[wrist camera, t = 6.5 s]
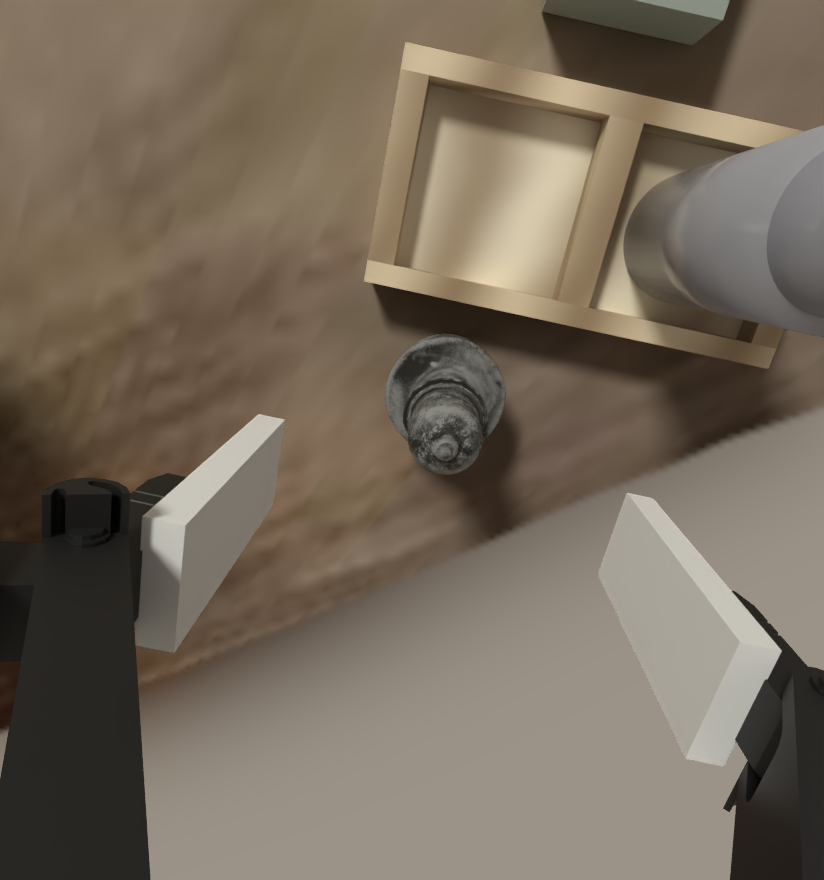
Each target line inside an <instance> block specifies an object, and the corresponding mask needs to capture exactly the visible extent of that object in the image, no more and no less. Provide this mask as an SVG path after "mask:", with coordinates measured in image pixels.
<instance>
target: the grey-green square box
mask: <svg viewBox="0 0 824 880" xmlns="http://www.w3.org/2000/svg"><path fill="white" fill-rule="evenodd" d="M729 1H730V0H544V4H543V8H542V12H545V13H550V14H554V15H559V16H563V17H568V18H572V19H576V20H581V21H585V22H590V23H594V24H599V25H603V26H607V27H612V28H616V29H621V30H625V31H630V32H634V33H639V34H643V35H647V36H652V37H656V38H661V39H665V40H670V41H674V42H679V43H683V44H687V45H692V46H693V45H694V44H695V43H696V42H698V41H699V40H700V39H701V38H702V37H704V36H705V35H706V34H707V33H708V32H710V31H711V30H712V29H713V28H714V27H716V26H717V25H718V24H719V23H721V22H722V21H723V19H724V16H725V13H726V10H727V7H728V4H729Z"/></svg>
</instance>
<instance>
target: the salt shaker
mask: <svg viewBox="0 0 824 880" xmlns="http://www.w3.org/2000/svg"><path fill="white" fill-rule="evenodd" d="M505 396H506V391H505V386H504V380H503V377H502V374H501V372H500V370H499V368H498V366H497V364H496V363H495V361H494V360H493V359H492V358H491V357H490V356H489V355H488V353H487V352H486V351H484V350H483V349H481V348H480V347H479V346H478V345H477V344H475V343H474V342H472V341H471V340H469V339H468V338H466V337H463V336H460V335H456V334H447V333H440V334H436V335H431V336H428V337H426V338H424V339H422V340H420V341H418V342H417V343H416V344H414V345H413V346H412V347H411V348H410V349H408V350H407V351H406V352H405V353H404V354H403V355H402V356H401V357H400V358H399V359H398V361H397V362H396V364H395V365H394V367H393V368H392V370H391V372H390V375H389V378H388V381H387V385H386V401H385V402H386V406H387V410H388V414H389V417H390V419H391V421H392V423H393V425H394V426H395V428H396V430H397V431H398V432H399V433H400V434H401V435H402V436H403V437H404V438H405V439H406V440H407V441H408V444H409V448H410V451H411V453H412V455H413V456H414V458H415V460H416V461H417V462H418V463H419V464H420V465H421V466H422V467H423V468H425V469H427V470H428V471H430V472H433V473H437V474H444V475H450V474H455V473H459V472H461V471H463V470H465V469H467V468H468V467H469V466H471V465H472V464H473V463H474V462H475V460H476V459H477V458H478V456H479V454H480V452H481V449H482V446H483V440H484V439H486V438H487V437H488V436H489V435H490V434H491V433H492V431H493V430H494V429H495V427H496V426H497V424H498V423H499V421H500V418H501V416H502V413H503V410H504V406H505Z"/></svg>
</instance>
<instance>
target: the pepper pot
mask: <svg viewBox="0 0 824 880" xmlns="http://www.w3.org/2000/svg"><path fill="white" fill-rule="evenodd" d="M623 253H624V260H625V263H626V267H627V270H628V272H629V274H630V276H631V278H632V279H633V281H634V282H635V283H636V284H637V286H638V287H639V288H640V289H641V290H642V291H644V292H645V293H646V294H648V295H649V296H651V297H653V298H655V299H657V300H660V301H664V302H668V303H672V304H677V305H681V306H685V307H690V308H694V309H699V310H703V311H707V312H712V313H716V314H721V315H725V316H729V317H734V318H738V319H743V320H747V321H751V322H756V323H760V324H765V325H769V326H774V327H778V328H782V329H787V330H791V331H796V332H800V333H804V334H809V335H813V336H820V337H824V125H823V126H820V127H817V128H814V129H811V130H808V131H805V132H802V133H799V134H796V135H793V136H790V137H787V138H784V139H781V140H778V141H775V142H772V143H769V144H766V145H763V146H760V147H757V148H754V149H751V150H748V151H745V152H742V153H739V154H736V155H733V156H730V157H727V158H724V159H721V160H718V161H715V162H712V163H709V164H706V165H703V166H700V167H697V168H694V169H691V170H688V171H685V172H682V173H679V174H676V175H673V176H671V177H669V178H666V179H665V180H663V181H661V182H659V183H658V184H657V185H655V186H654V187H653V188H651V189H650V190H649V191H648V192H647V193H646V194H645V195H644V196H643V197H642V199H641V200H640V201H639V202H638V204H637V205H636V207H635V208H634V210H633V212H632V214H631V216H630V218H629V220H628V223H627V226H626V229H625V234H624V241H623Z"/></svg>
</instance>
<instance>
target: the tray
mask: <svg viewBox="0 0 824 880" xmlns="http://www.w3.org/2000/svg"><path fill="white" fill-rule="evenodd" d="M802 132H805V131H801V130H796V129H792V128H787V127H783V126H778V125H774V124H769V123H765V122H760V121H756V120H751V119H747V118H743V117H738V116H734V115H729V114H725V113H720V112H716V111H711V110H707V109H702V108H698V107H693V106H689V105H684V104H680V103H676V102H671V101H667V100H662V99H658V98H653V97H649V96H644V95H640V94H635V93H631V92H626V91H622V90H617V89H613V88H608V87H604V86H600V85H595V84H591V83H586V82H582V81H577V80H573V79H568V78H564V77H559V76H555V75H550V74H546V73H541V72H537V71H532V70H528V69H524V68H519V67H515V66H510V65H506V64H501V63H497V62H492V61H488V60H483V59H479V58H474V57H470V56H465V55H461V54H456V53H452V52H448V51H443V50H439V49H434V48H430V47H425V46H421V45H416V44H412V43H407V42H405V47H404V53H403V59H402V65H401V71H400V76H399V82H398V88H397V94H396V99H395V105H394V111H393V117H392V122H391V128H390V134H389V140H388V145H387V151H386V157H385V163H384V168H383V174H382V180H381V186H380V191H379V197H378V203H377V209H376V215H375V220H374V226H373V232H372V238H371V243H370V249H369V255H368V261H367V266H366V272H365V278H364V281H365V282H370V283H375V284H379V285H384V286H388V287H393V288H398V289H402V290H407V291H411V292H416V293H421V294H425V295H430V296H434V297H439V298H444V299H448V300H453V301H457V302H462V303H467V304H471V305H476V306H480V307H485V308H490V309H494V310H499V311H503V312H508V313H513V314H517V315H522V316H526V317H531V318H536V319H540V320H545V321H549V322H554V323H559V324H563V325H568V326H572V327H577V328H582V329H586V330H591V331H595V332H600V333H605V334H609V335H614V336H618V337H623V338H628V339H632V340H637V341H641V342H646V343H651V344H655V345H660V346H664V347H669V348H674V349H678V350H683V351H687V352H692V353H697V354H701V355H706V356H710V357H715V358H720V359H724V360H729V361H733V362H738V363H743V364H747V365H752V366H756V367H761V368H766V369H768V368H769V366H770V364H771V361H772V359H773V356H774V354H775V351H776V349H777V347H778V344H779V342H780V339H781V337H782V334H783V332H784V330H785V329H782V328H778V327H774V326H769V325H765V324H760V323H756V322H751V321H747V320H743V319H738V318H734V317H729V316H725V315H721V314H716V313H712V312H707V311H703V310H699V309H694V308H690V307H685V306H681V305H677V304H672V303H668V302H664V301H660V300H657V299H655V298H653V297H651V296H649V295H648V294H646V293H645V292H644V291H642V290H641V289H640V288H639V287H638V286H637V284H636V283H635V282H634V281H633V279H632V278H631V276H630V274H629V272H628V270H627V267H626V263H625V260H624V253H623V241H624V234H625V229H626V226H627V223H628V220H629V218H630V216H631V214H632V212H633V210H634V208H635V207H636V205H637V204H638V202H639V201H640V200H641V199H642V197H643V196H644V195H645V194H646V193H647V192H648V191H649V190H650V189H651V188H653V187H654V186H655V185H657V184H658V183H659V182H661V181H663V180H665V179H666V178H669V177H671V176H673V175H676V174H679V173H682V172H685V171H688V170H691V169H694V168H697V167H700V166H703V165H706V164H709V163H712V162H715V161H718V160H721V159H724V158H727V157H730V156H733V155H736V154H739V153H742V152H745V151H748V150H751V149H754V148H757V147H760V146H763V145H766V144H769V143H772V142H775V141H778V140H781V139H784V138H787V137H790V136H793V135H796V134H799V133H802Z"/></svg>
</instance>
